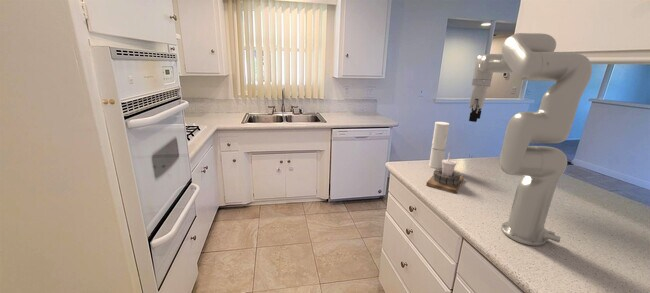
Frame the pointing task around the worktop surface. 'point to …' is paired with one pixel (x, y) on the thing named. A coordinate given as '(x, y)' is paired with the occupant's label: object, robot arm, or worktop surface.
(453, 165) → the smoothie
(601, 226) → the worktop surface
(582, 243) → the worktop surface
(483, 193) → the worktop surface
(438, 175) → the block
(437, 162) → the cylindrical container
